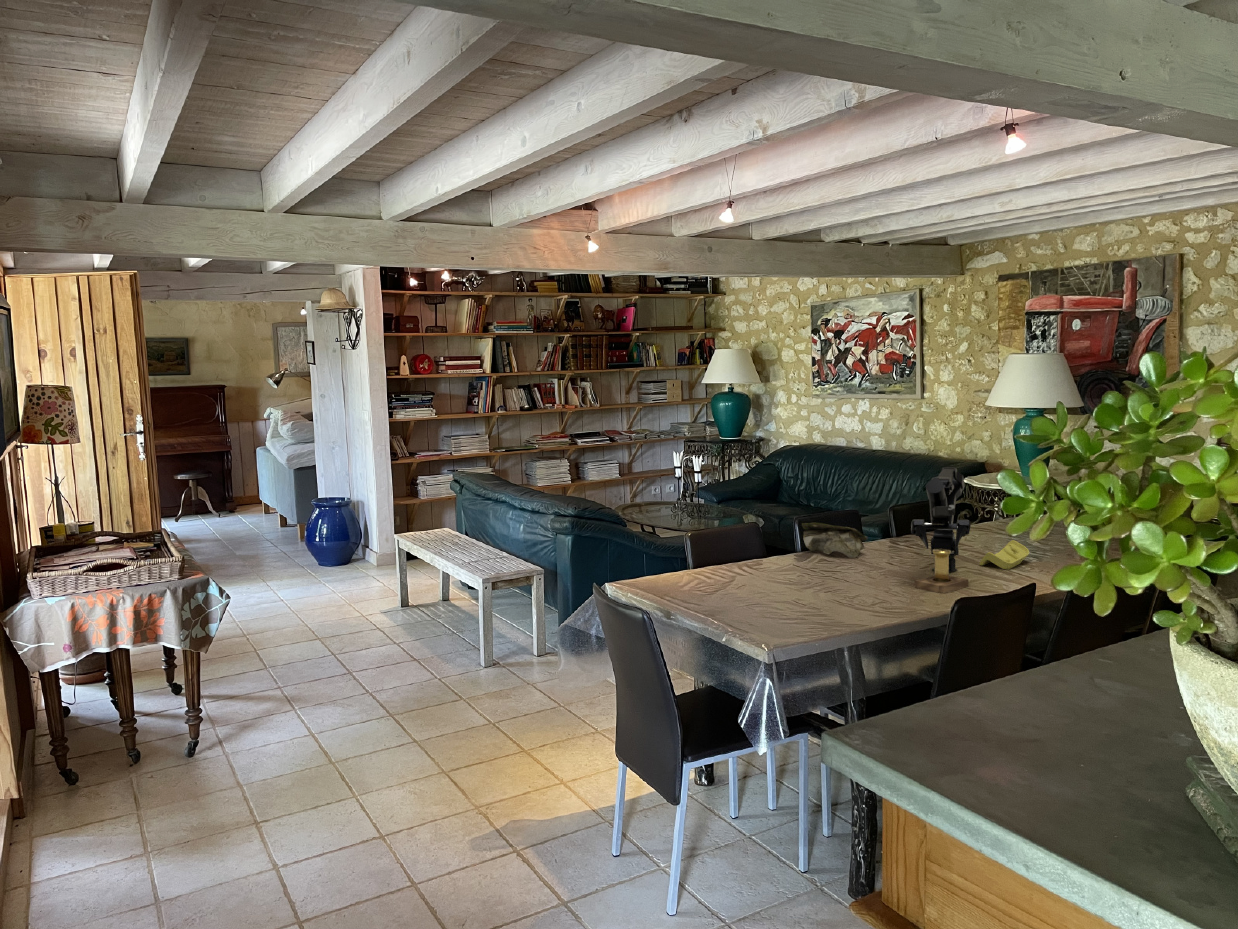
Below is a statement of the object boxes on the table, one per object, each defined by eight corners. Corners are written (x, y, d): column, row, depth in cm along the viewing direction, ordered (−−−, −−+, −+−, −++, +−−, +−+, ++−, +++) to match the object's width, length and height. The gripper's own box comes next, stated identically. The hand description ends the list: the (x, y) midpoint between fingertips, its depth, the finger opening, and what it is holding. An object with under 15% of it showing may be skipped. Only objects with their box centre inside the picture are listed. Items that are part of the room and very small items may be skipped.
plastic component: (1009, 564, 322) (985, 549, 328) (1001, 581, 325) (977, 566, 331) (1034, 551, 334) (1009, 537, 340) (1025, 567, 338) (1002, 553, 344)
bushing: (929, 587, 303) (929, 550, 302) (939, 584, 307) (939, 548, 305) (944, 590, 299) (944, 553, 297) (954, 587, 302) (954, 550, 301)
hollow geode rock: (802, 560, 371) (785, 538, 363) (814, 536, 376) (798, 514, 368) (861, 568, 350) (845, 545, 342) (873, 542, 356) (858, 518, 348)
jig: (915, 587, 303) (915, 580, 302) (939, 580, 311) (939, 574, 311) (943, 593, 294) (943, 586, 294) (968, 586, 302) (968, 579, 302)
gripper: (911, 496, 305) (914, 535, 296) (970, 496, 300) (974, 535, 291) (910, 514, 314) (912, 552, 305) (966, 514, 309) (970, 553, 300)
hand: (942, 548), depth 300 cm, fingers open, 9 cm apart
